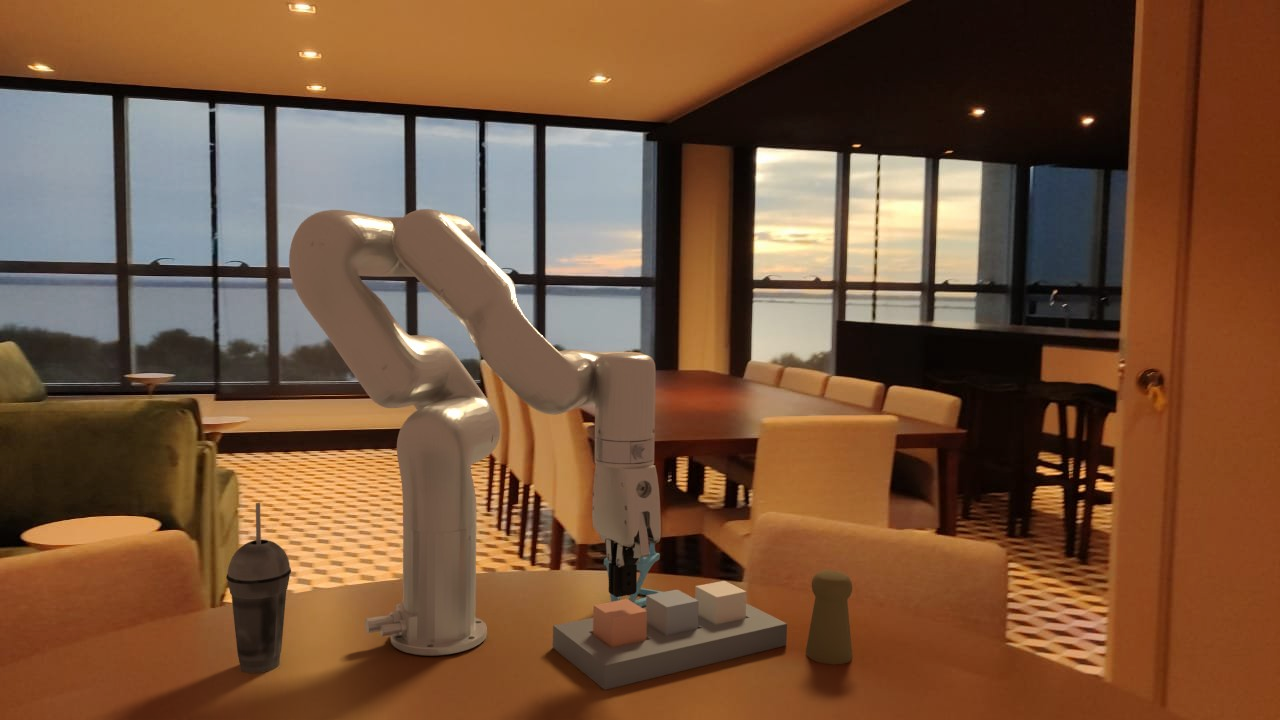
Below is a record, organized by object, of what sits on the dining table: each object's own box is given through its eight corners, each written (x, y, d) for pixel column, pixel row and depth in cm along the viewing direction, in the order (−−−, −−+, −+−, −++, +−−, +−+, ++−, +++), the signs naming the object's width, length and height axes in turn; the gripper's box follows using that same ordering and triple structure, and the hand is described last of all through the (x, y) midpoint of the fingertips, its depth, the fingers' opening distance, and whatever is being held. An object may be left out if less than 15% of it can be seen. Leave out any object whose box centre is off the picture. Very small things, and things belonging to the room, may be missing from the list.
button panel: (604, 689, 103) (605, 665, 103) (552, 647, 115) (553, 625, 115) (786, 645, 118) (787, 623, 118) (723, 611, 130) (724, 592, 129)
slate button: (665, 637, 113) (666, 607, 113) (645, 624, 117) (646, 595, 117) (697, 630, 115) (698, 600, 115) (676, 618, 120) (677, 589, 119)
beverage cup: (228, 682, 103) (226, 515, 101) (225, 659, 109) (224, 501, 108) (294, 671, 106) (294, 509, 104) (288, 649, 112) (287, 496, 111)
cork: (853, 666, 112) (857, 582, 111) (805, 661, 113) (808, 577, 112) (851, 648, 118) (855, 567, 117) (805, 643, 119) (809, 564, 118)
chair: (596, 607, 131) (597, 528, 130) (619, 589, 138) (620, 515, 137) (644, 615, 128) (645, 535, 127) (664, 597, 135) (666, 521, 134)
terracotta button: (612, 649, 109) (612, 617, 108) (592, 635, 113) (593, 605, 113) (646, 641, 111) (647, 611, 111) (626, 628, 115) (627, 598, 115)
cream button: (716, 626, 117) (716, 597, 117) (694, 614, 121) (695, 586, 121) (745, 619, 120) (746, 591, 119) (723, 608, 124) (724, 580, 124)
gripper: (682, 458, 106) (679, 606, 107) (620, 440, 119) (618, 573, 120) (629, 464, 102) (627, 617, 103) (570, 444, 115) (569, 581, 116)
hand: (622, 593), depth 112 cm, fingers closed
